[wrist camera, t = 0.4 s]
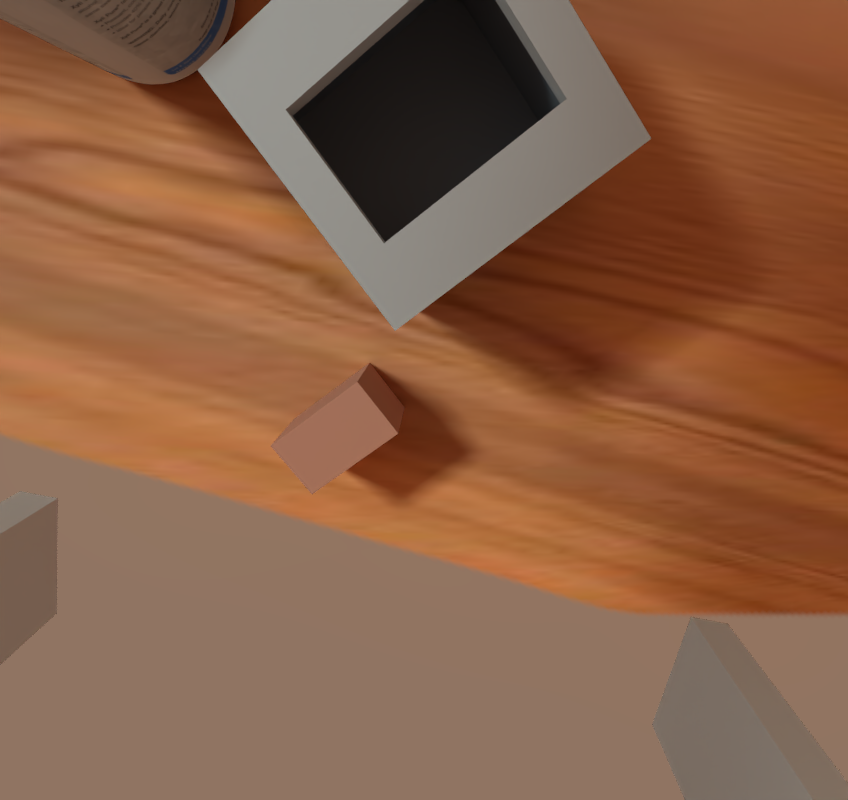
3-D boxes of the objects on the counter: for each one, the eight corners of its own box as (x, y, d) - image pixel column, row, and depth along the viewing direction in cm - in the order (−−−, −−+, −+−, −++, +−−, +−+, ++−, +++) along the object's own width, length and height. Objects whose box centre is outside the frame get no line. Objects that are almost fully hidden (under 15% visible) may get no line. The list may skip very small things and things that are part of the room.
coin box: (276, 127, 30) (197, 69, 20) (455, -31, 28) (461, -179, 18) (409, 306, 32) (395, 330, 23) (585, 173, 30) (651, 138, 20)
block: (330, 460, 35) (311, 494, 30) (294, 418, 35) (270, 445, 30) (404, 407, 34) (398, 433, 29) (369, 362, 33) (357, 381, 29)
